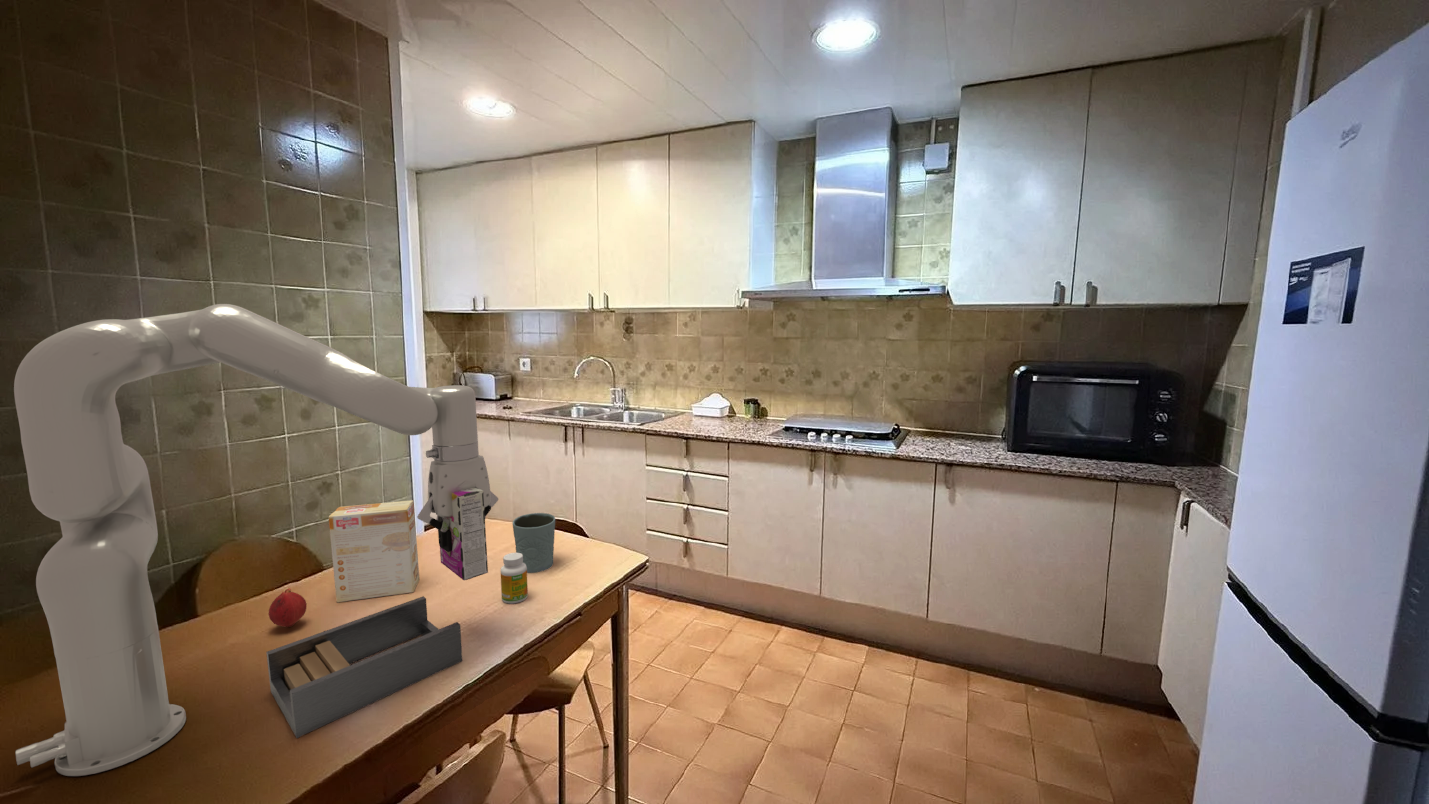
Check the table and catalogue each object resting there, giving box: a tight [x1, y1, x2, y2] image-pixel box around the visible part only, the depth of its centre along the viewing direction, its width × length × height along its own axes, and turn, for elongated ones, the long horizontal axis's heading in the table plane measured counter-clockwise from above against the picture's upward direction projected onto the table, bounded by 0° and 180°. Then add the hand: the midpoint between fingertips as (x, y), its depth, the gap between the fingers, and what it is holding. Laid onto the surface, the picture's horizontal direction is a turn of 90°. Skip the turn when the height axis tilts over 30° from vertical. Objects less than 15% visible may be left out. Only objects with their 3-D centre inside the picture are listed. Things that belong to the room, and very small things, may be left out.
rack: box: [266, 595, 463, 739], centre depth 91 cm, size 24×15×7 cm, turn 140°
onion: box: [268, 587, 308, 628], centre depth 106 cm, size 6×6×8 cm
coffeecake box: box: [328, 500, 420, 603], centre depth 120 cm, size 15×7×20 cm, turn 108°
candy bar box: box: [439, 487, 489, 581], centre depth 103 cm, size 11×5×16 cm, turn 47°
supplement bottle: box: [500, 552, 529, 605], centre depth 118 cm, size 5×5×10 cm
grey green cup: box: [512, 512, 556, 574], centre depth 134 cm, size 10×10×12 cm
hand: (462, 544), depth 103 cm, fingers closed on candy bar box, 5 cm apart
